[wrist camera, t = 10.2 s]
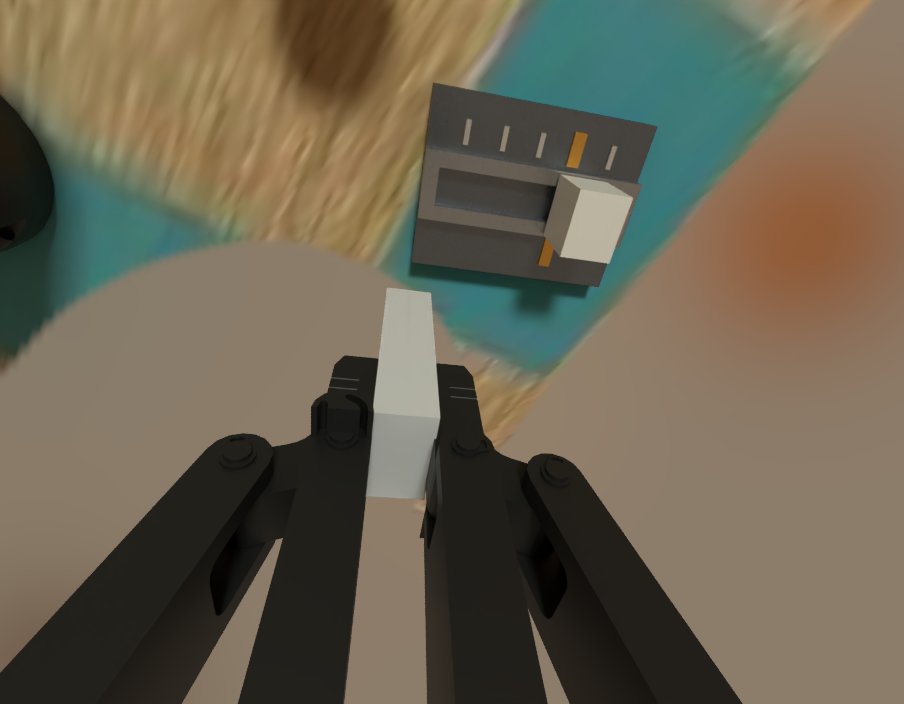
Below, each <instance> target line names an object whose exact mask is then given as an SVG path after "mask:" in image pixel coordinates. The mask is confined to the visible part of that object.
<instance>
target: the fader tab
mask: <svg viewBox="0 0 904 704" xmlns="http://www.w3.org/2000/svg"><path fill="white" fill-rule="evenodd" d="M632 200H633V197H631V196H629V195H627V194H626V193H624V192H622V191H621V190H619V189H617V188H616V187H614V186H612V185H611V184H609V183H607V182H602V181H597V180H591V179H585V178H579V177H573V176H567V175H561V174H560V177H559V181H558V185H557V188H556V192H555V195H554V199H553V203H552V206H551V210H550V213H549V217H548V220H547V224H546V228H545V231H544V237H545V238H546V239H547V240H548V242H549V243H550V244H551V246H552V247H553V248H554V249H555V251H556V252H557V253H558V255H559V256H560V257H566V258H573V259H580V260H587V261H594V262H601V263H608V264H609V262H610V260H611V257H612V254H613V252H614V249H615V246H616V243H617V241H618V238H619V235H620V233H621V230H622V227H623V224H624V222H625V219H626V216H627V214H628V211H629V208H630V206H631V203H632Z"/></svg>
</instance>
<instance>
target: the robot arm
mask: <svg viewBox="0 0 904 704" xmlns="http://www.w3.org/2000/svg"><path fill="white" fill-rule="evenodd" d="M52 201H53V188H52V180H51V176H50V172H49V168H48V165H47V162H46V160H45V157H44V155H43V153H42V151H41V148H40V146H39V145H38V143H37V141H36V139H35V138H34V136H33V134H32V133H31V131H30V130H29V128H28V127H27V125H26V124H25V123H24V121H23V120H22V119H21V117H20V116H19V115H18V114H17V113H16V111H15V110H14V109H13V108H12V107H11V106H10V105H9V104H8V102H7V101H6V100H5V99H4V98H3V97H2V96H1V95H0V252H3V251H5V250H8V249H10V248H12V247H14V246H17V245H19V244H21V243H23V242H25V241H27V240H29V239H31V238H32V237H34V236H35V235H36V234H37V233H38V232H39V231H40V230H41V229H42V228H43V226H44V225H45V223H46V221H47V219H48V217H49V215H50V212H51V208H52ZM425 492H426V501H427V504H426V509H425V514H424V519H423V524H422V529H421V533H420V538H424V563H425V615H426V666H427V704H548V703H547V698H546V694H545V689H544V684H543V679H542V674H541V669H540V665H539V660H538V655H537V651H536V646H535V641H534V636H533V631H532V627H531V622H530V617H529V612H530V614H531V616H532V618H533V621H534V623H535V625H536V628H537V630H538V632H539V634H540V637H541V639H542V641H543V643H544V646H545V648H546V650H547V653H548V655H549V657H550V660H551V662H552V664H553V666H554V669H555V671H556V673H557V676H558V678H559V680H560V682H561V685H562V687H563V689H564V692H565V694H566V696H567V698H568V701H569V703H570V704H742V702H741V701H740V699H739V698H738V696H737V695H736V694H735V692H734V691H733V689H732V688H731V687H730V685H729V684H728V682H727V681H726V679H725V678H724V676H723V675H722V674H721V672H720V671H719V669H718V668H717V666H716V665H715V664H714V662H713V661H712V659H711V658H710V656H709V655H708V654H707V652H706V651H705V649H704V648H703V646H702V645H701V644H700V642H699V641H698V639H697V638H696V636H695V635H694V634H693V632H692V631H691V629H690V628H689V626H688V625H687V623H686V622H685V621H684V619H683V618H682V616H681V615H680V613H679V612H678V611H677V609H676V608H675V606H674V605H673V603H672V602H671V601H670V599H669V598H668V596H667V595H666V593H665V592H664V591H663V589H662V588H661V586H660V585H659V583H658V582H657V580H656V579H655V578H654V576H653V575H652V573H651V572H650V570H649V569H648V568H647V566H646V565H645V563H644V562H643V560H642V559H641V558H640V556H639V555H638V553H637V552H636V550H635V549H634V548H633V546H632V545H631V543H630V542H629V540H628V539H627V537H626V536H625V535H624V533H623V532H622V530H621V529H620V527H619V526H618V525H617V523H616V522H615V520H614V519H613V518H612V516H611V515H610V513H609V512H608V511H607V509H606V507H605V506H604V505H603V503H602V502H601V501H600V499H599V497H598V496H597V495H596V493H595V492H594V490H593V489H592V487H591V486H590V485H589V483H588V482H587V480H586V479H585V478H584V476H583V475H582V473H581V472H580V470H579V469H578V468H577V467H576V466H575V465H574V464H573V463H571V462H570V461H568V460H567V459H565V458H563V457H560V456H557V455H554V454H539V455H536V456H534V457H532V459H531V460H530V461H529V462H528V464H527V463H524V462H521V461H518V460H514V459H511V458H509V457H506V456H504V455H502V454H500V453H499V452H497V451H496V450H495V449H494V447H493V444H492V442H491V440H489V439H488V438H487V437H486V436H485V435H484V433H483V427H482V422H481V417H480V412H479V407H478V401H477V396H476V391H475V386H474V380H473V376H472V375H471V374H470V373H469V371H468V370H467V369H466V368H465V367H464V366H459V365H448V364H437V363H436V356H435V342H434V329H433V316H432V303H431V293H427V292H419V291H411V290H403V289H395V288H387V294H386V303H385V311H384V319H383V328H382V336H381V345H380V353H379V359H376V358H366V357H356V356H344V357H343V358H341V359H340V360H339V361H338V362H337V363H336V364H335V366H334V369H333V373H332V378H331V381H330V384H329V388H328V392H327V393H326V394H323V395H322V396H320V397H319V398H317V399H316V400H315V402H314V403H313V405H312V406H311V435H309V436H308V437H306V438H305V439H303V440H300V441H298V442H295V443H291V444H287V445H281V446H275V447H272V446H271V445H270V444H269V442H268V441H267V440H266V439H264V438H262V437H260V436H257V435H254V434H243V433H242V434H236V435H230V436H227V437H225V438H222V439H220V440H218V441H216V442H215V443H213V444H212V445H211V446H210V447H208V448H207V449H206V450H205V451H204V453H203V454H202V455H201V456H200V457H199V458H198V459H197V460H196V461H195V462H194V463H193V464H192V466H190V468H189V469H188V470H187V471H186V472H185V473H184V474H183V475H182V476H181V477H180V478H179V480H178V481H177V482H176V483H175V484H174V485H173V486H172V487H171V488H170V489H169V491H167V493H166V494H165V495H164V496H163V497H162V498H161V499H160V500H159V501H158V502H157V503H156V505H155V506H154V507H153V508H152V509H151V510H150V511H149V512H148V513H147V514H146V515H145V517H144V518H143V519H142V520H141V521H140V522H139V523H138V524H137V525H136V526H135V527H134V528H133V529H132V531H131V532H130V533H129V534H128V535H127V536H126V537H125V538H124V539H123V540H122V541H121V543H120V544H119V545H118V546H117V547H116V548H115V549H114V550H113V551H112V552H111V553H110V554H109V555H108V557H107V558H106V559H105V560H104V561H103V562H102V563H101V564H100V565H99V566H98V567H97V568H96V570H95V571H94V572H93V573H92V574H91V575H90V576H89V577H88V578H87V579H86V580H85V582H84V583H83V584H82V585H81V586H80V587H79V588H78V589H77V590H76V591H75V592H74V593H73V595H72V596H71V597H70V598H69V599H68V600H67V601H66V602H65V603H64V604H63V605H62V607H61V608H60V609H59V610H58V611H57V612H56V613H55V614H54V615H53V616H52V617H51V618H50V620H49V621H48V622H47V623H46V624H45V625H44V626H43V627H42V628H41V629H40V630H39V631H38V632H37V634H36V635H35V636H34V637H33V638H32V639H31V640H30V641H29V642H28V643H27V645H26V646H25V647H24V648H23V649H22V650H21V651H20V652H19V653H18V654H17V655H16V656H15V658H14V659H13V660H12V661H11V662H10V663H9V664H8V665H7V666H6V667H5V668H4V669H3V671H2V672H1V673H0V704H182V702H183V700H184V699H185V697H186V695H187V693H188V692H189V690H190V688H191V686H192V685H193V683H194V681H195V680H196V678H197V676H198V674H199V673H200V671H201V669H202V667H203V666H204V664H205V662H206V661H207V659H208V657H209V656H210V654H211V652H212V650H213V649H214V647H215V645H216V643H217V642H218V640H219V638H220V636H221V635H222V633H223V631H224V630H225V628H226V626H227V624H228V623H229V621H230V619H231V617H232V616H233V614H234V612H235V610H236V609H237V607H238V605H239V603H240V602H241V600H242V598H243V597H244V595H245V593H246V592H247V590H248V588H249V586H250V585H251V583H252V581H253V580H254V578H255V576H256V574H257V573H258V571H259V569H260V567H261V566H262V564H263V562H264V561H265V559H266V557H267V555H268V554H269V552H270V550H271V548H272V547H273V545H274V543H275V540H276V539H280V538H283V540H282V544H281V548H280V551H279V555H278V559H277V562H276V566H275V570H274V573H273V577H272V581H271V584H270V588H269V592H268V595H267V599H266V603H265V606H264V610H263V613H262V617H261V621H260V624H259V628H258V632H257V635H256V639H255V643H254V646H253V650H252V654H251V657H250V661H249V665H248V668H247V672H246V676H245V680H244V683H243V687H242V690H241V694H240V698H239V701H238V704H344V698H345V689H346V680H347V671H348V660H349V652H350V642H351V633H352V624H353V614H354V605H355V596H356V586H357V577H358V568H359V558H360V549H361V539H362V530H363V521H364V510H365V501H366V497H384V498H403V499H422V500H424V497H425ZM528 609H529V612H528Z"/></svg>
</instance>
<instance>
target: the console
mask: <svg viewBox="0 0 904 704" xmlns="http://www.w3.org/2000/svg"><path fill="white" fill-rule="evenodd" d="M656 130H657V126H653V125H649V124H644V123H639V122H634V121H629V120H624V119H619V118H613V117H608V116H603V115H598V114H593V113H588V112H583V111H577V110H572V109H567V108H562V107H557V106H552V105H546V104H541V103H536V102H531V101H526V100H521V99H516V98H510V97H505V96H500V95H495V94H490V93H485V92H479V91H474V90H469V89H464V88H459V87H454V86H448V85H443V84H438V83H433V88H432V96H431V104H430V112H429V120H428V128H427V136H426V144H425V152H424V160H423V168H422V176H421V184H420V192H419V200H418V208H417V216H416V224H415V232H414V240H413V248H412V262H413V263H420V264H428V265H436V266H443V267H451V268H458V269H466V270H473V271H481V272H489V273H496V274H504V275H511V276H519V277H526V278H534V279H541V280H549V281H557V282H564V283H572V284H579V285H587V286H594V287H599V285H600V282H601V279H602V276H603V274H604V271H605V268H606V266H607V263H601V262H594V261H587V260H580V259H573V258H566V257H560V256H559V255H558V253H557V252H556V251H555V249H554V248H553V247H552V246H551V244H550V243H549V242H548V240H547V239H546V238H545V237H544V231H545V228H546V224H547V220H548V217H549V213H550V210H551V206H552V203H553V199H554V195H555V192H556V188H557V185H558V181H559V177H560V174H561V175H567V176H573V177H579V178H585V179H591V180H597V181H602V182H607V183H609V184H611V185H612V186H614V187H616V188H617V189H619V190H621V191H622V192H624V193H626V194H627V195H629V196H631V197H633V200H632V203H631V206H630V208H629V211H628V214H627V216H626V219H625V222H624V224H623V227H622V230H621V233H620V235H619V238H618V241H617V243H616V246H615V247H618V248H619V246H620V243H621V240H622V237H623V235H624V232H625V229H626V227H627V224H628V221H629V219H630V216H631V213H632V211H633V208H634V205H635V203H636V200H637V197H638V195H639V192H640V189H641V187H642V185H641V184H639V183H637V181H638V179H639V176H640V173H641V170H642V168H643V165H644V162H645V160H646V157H647V154H648V151H649V149H650V146H651V143H652V141H653V138H654V135H655V132H656Z"/></svg>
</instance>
